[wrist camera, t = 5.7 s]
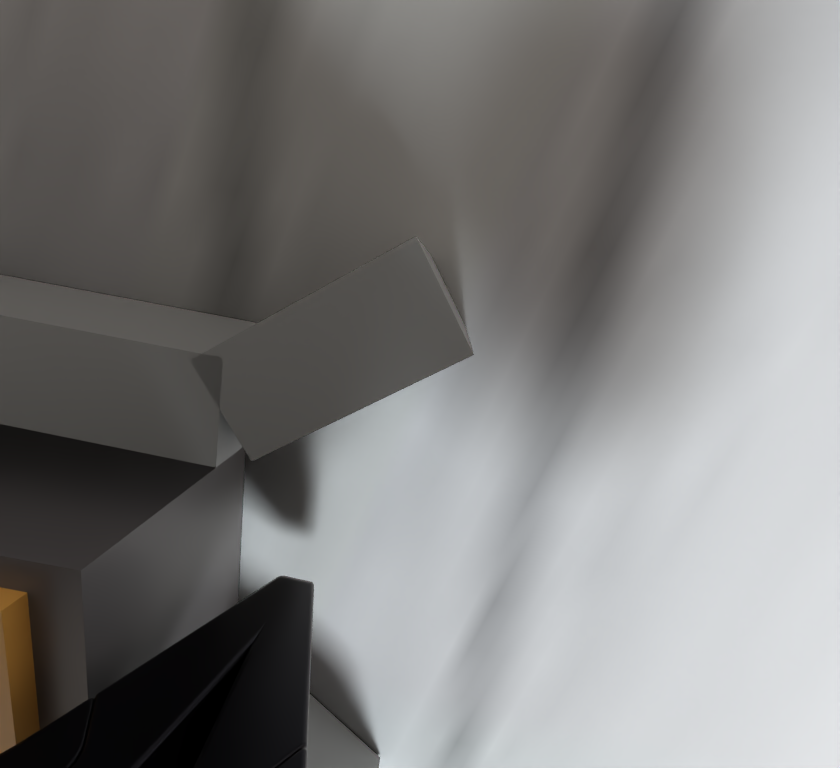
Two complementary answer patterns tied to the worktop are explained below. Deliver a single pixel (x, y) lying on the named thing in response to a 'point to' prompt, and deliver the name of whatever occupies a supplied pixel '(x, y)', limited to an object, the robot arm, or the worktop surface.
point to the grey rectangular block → (103, 566)
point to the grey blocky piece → (226, 378)
